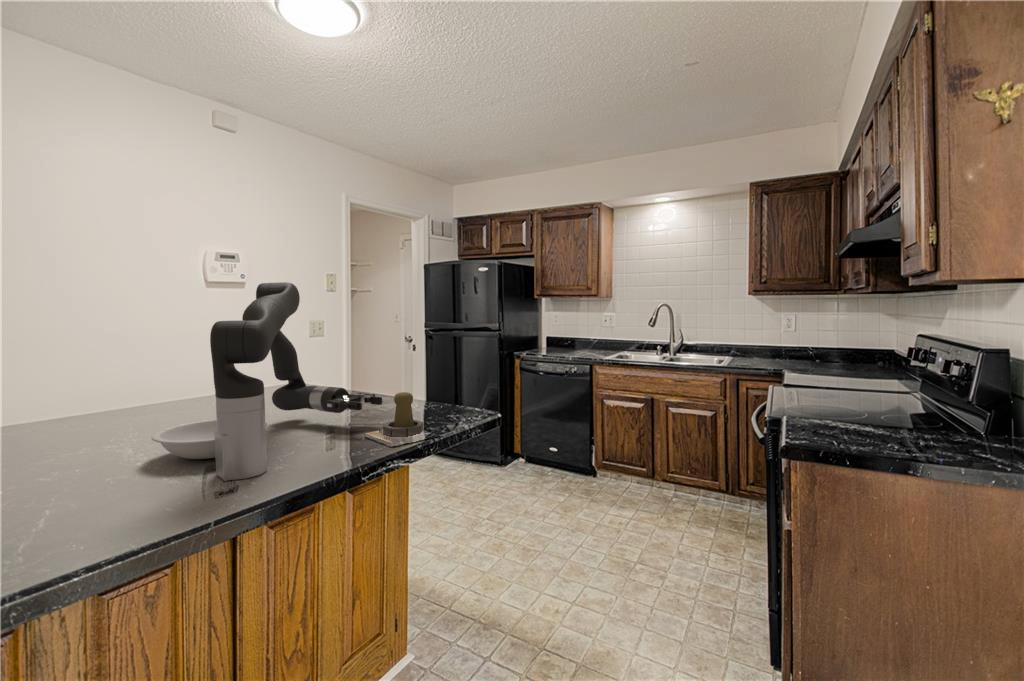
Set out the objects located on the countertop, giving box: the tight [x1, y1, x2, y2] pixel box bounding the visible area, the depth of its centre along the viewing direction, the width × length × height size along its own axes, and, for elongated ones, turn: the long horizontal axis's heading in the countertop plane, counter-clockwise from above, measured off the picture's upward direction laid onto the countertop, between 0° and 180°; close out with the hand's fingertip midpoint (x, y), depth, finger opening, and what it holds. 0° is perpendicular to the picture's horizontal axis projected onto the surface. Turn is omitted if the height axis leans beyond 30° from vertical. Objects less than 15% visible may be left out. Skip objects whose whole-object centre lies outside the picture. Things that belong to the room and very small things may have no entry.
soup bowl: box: [151, 418, 268, 460], centre depth 121 cm, size 24×24×7 cm
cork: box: [393, 391, 414, 428], centre depth 138 cm, size 6×6×11 cm
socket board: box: [364, 419, 424, 443], centre depth 137 cm, size 16×14×4 cm
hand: (371, 403), depth 141 cm, fingers open, 8 cm apart
